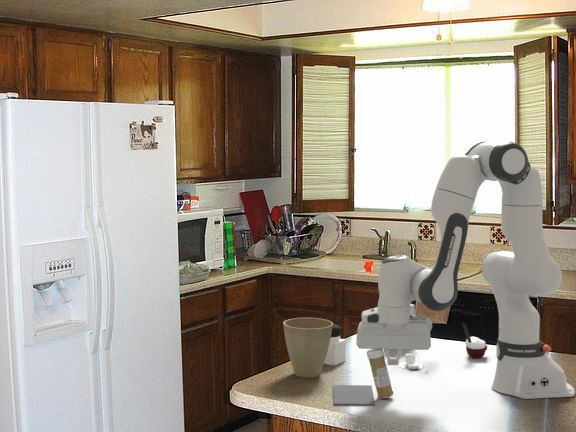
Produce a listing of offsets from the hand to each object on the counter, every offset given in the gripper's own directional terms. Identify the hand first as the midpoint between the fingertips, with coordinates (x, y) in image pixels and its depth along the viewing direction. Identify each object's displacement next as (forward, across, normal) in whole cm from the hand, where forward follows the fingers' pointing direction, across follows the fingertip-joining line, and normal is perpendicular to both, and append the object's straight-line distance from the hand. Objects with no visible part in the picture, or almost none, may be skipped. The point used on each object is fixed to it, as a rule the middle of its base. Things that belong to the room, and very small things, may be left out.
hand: (392, 364), depth 230 cm
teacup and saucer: (+10, -6, -32) cm, 34 cm away
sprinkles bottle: (+9, +2, 0) cm, 9 cm away
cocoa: (+9, -30, -45) cm, 55 cm away
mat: (+10, +11, -2) cm, 14 cm away
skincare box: (+9, -8, -58) cm, 59 cm away
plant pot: (+10, +24, -22) cm, 34 cm away
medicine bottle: (+10, +16, -37) cm, 42 cm away
